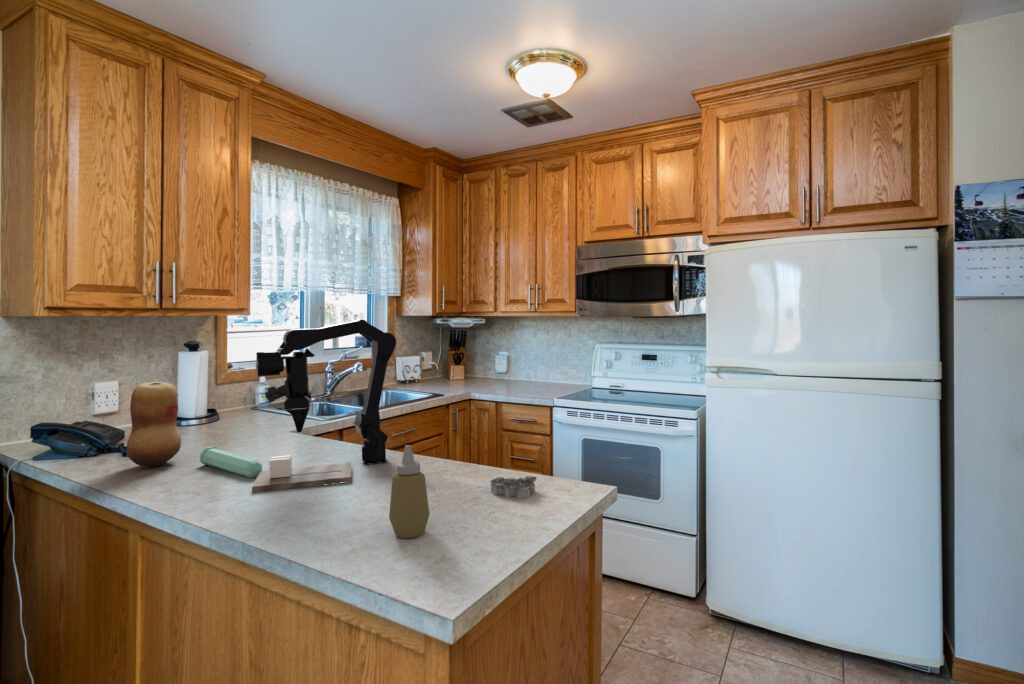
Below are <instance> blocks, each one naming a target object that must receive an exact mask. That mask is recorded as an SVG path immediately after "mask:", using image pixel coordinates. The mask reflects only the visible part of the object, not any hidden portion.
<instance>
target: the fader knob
mask: <svg viewBox="0 0 1024 684" xmlns="http://www.w3.org/2000/svg"><path fill="white" fill-rule="evenodd" d="M292 464H293V461H292V455H291V454H288V455H279V456H271V457H270V458H269V470H270V478H278V477H289V476H291V474H292V468H293V466H292Z"/></svg>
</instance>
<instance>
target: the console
mask: <svg viewBox="0 0 1024 684" xmlns="http://www.w3.org/2000/svg"><path fill="white" fill-rule="evenodd" d="M340 482H351V483H352V463H351V462H346V463H344V462H343V463H337V464H336V463H335V464H324V465H323V464H322V465H315V466H314V465H313V466H301V467H292V474H291V476H289V477H278V478H270V469H269V470H268V469H267V470H262V471H260V473H259V475H258V476H256V479H255V481H254V482H253V484H252V486H251V492H253V493H260V492H259V491H263V492H272V491H271V490H273V491H279V490H280V491H281V489H283V490H291V489H290V488H292V489H300V488H299V487H302V488H308V487H307V486H312V487H317V486H316V485H322V486H325V485H324V484H332V483H340ZM332 485H333V484H332Z"/></svg>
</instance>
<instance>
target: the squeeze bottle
mask: <svg viewBox="0 0 1024 684" xmlns="http://www.w3.org/2000/svg"><path fill="white" fill-rule="evenodd" d="M390 488H391V489H390V503H389V512H388V513H389V514H388V517H389V522H390V525H391V527H392V530H393V532H394V535H395V536H396V537H397V538H400V539H413V538H417V537H420V536H422V535H423V534H424V532H426V531H425V530H426V527H427V525H428V520H429V517H430V507H429V500H428V492H427V491H428V490H427V484H426V476H425V474H424V473H423V472H421V463H420V462H419V461H417V460H415V458H414V454H413V449H412V445H411V444H409V445H408V444H407V445H405V446H404V450H403V456H402V459H401V462H397V464H396V473H395V474H394V475H393V476H392V477H391V487H390Z"/></svg>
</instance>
